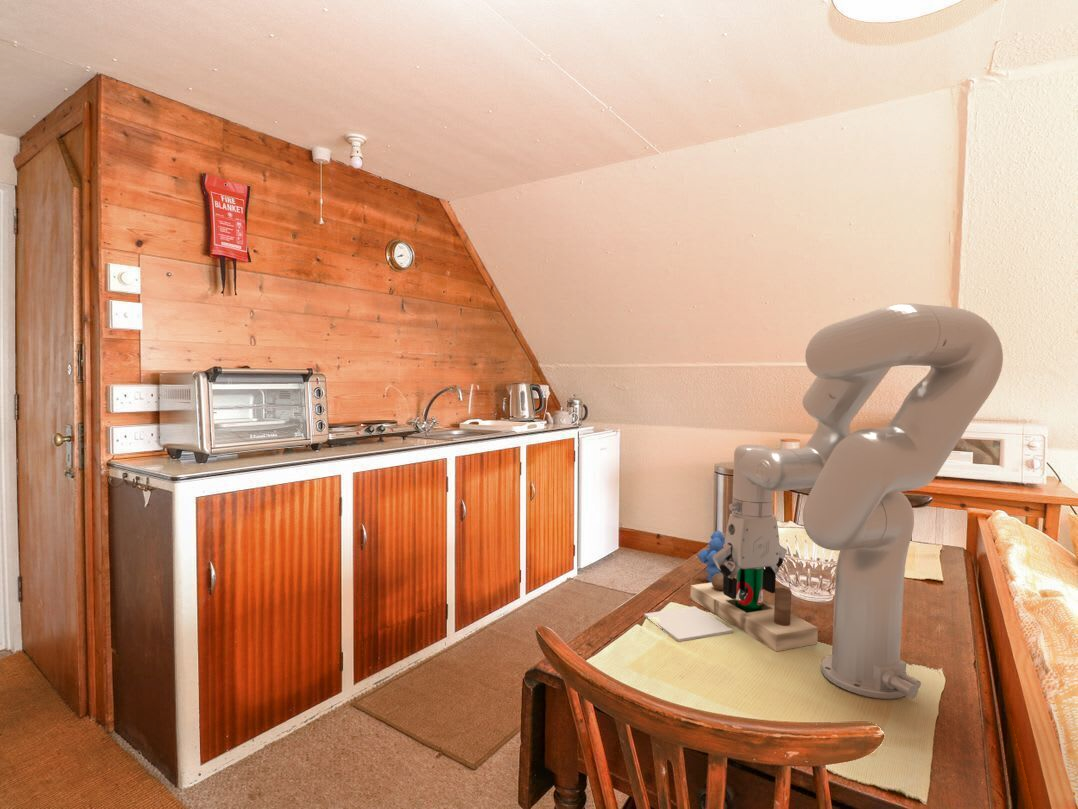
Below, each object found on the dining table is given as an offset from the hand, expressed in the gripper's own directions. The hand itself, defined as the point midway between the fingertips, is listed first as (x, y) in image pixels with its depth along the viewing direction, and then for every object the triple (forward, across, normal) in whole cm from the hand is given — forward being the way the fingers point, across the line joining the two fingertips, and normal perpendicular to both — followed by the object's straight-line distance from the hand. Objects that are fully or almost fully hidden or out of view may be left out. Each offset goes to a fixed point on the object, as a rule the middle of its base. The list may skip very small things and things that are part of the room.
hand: (749, 593), depth 118 cm
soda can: (+5, 0, 0) cm, 5 cm away
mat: (+5, -13, +2) cm, 14 cm away
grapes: (+5, +6, +20) cm, 22 cm away
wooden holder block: (+5, 0, 0) cm, 5 cm away
